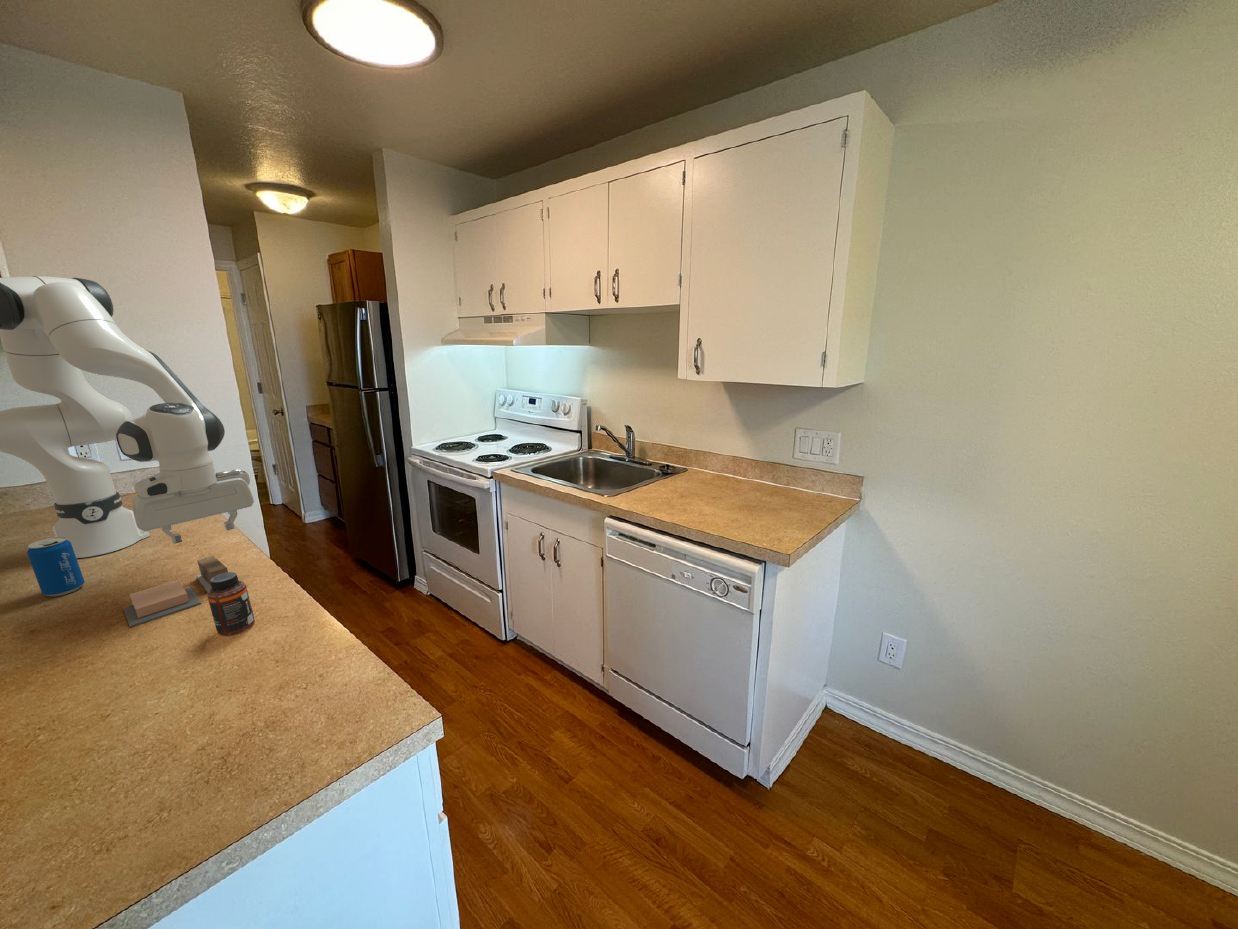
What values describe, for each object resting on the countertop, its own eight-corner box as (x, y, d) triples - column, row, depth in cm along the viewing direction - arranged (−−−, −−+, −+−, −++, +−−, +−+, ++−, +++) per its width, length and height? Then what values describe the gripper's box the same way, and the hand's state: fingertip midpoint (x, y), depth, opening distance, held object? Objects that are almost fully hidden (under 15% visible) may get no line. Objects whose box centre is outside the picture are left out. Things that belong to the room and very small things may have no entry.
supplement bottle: (262, 622, 97) (250, 571, 94) (231, 640, 92) (217, 587, 89) (242, 617, 99) (229, 567, 96) (210, 634, 94) (195, 581, 90)
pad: (197, 577, 115) (196, 575, 115) (223, 570, 118) (222, 567, 118) (209, 595, 107) (208, 592, 107) (236, 586, 111) (236, 583, 111)
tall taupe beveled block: (201, 575, 114) (197, 560, 113) (217, 570, 117) (213, 555, 116) (214, 589, 109) (210, 572, 108) (230, 583, 111) (226, 567, 110)
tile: (129, 594, 103) (135, 609, 97) (178, 579, 109) (186, 593, 103) (132, 603, 104) (138, 618, 98) (181, 588, 109) (189, 602, 104)
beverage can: (57, 599, 106) (38, 549, 103) (35, 596, 107) (16, 547, 104) (93, 584, 112) (77, 537, 109) (72, 582, 113) (55, 535, 110)
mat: (123, 609, 102) (122, 608, 102) (191, 588, 110) (190, 587, 110) (130, 627, 96) (129, 626, 96) (201, 604, 104) (200, 602, 104)
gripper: (243, 464, 116) (254, 518, 120) (123, 485, 101) (141, 546, 105) (251, 470, 112) (263, 525, 116) (128, 492, 97) (146, 555, 101)
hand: (204, 535), depth 110 cm, fingers open, 8 cm apart
